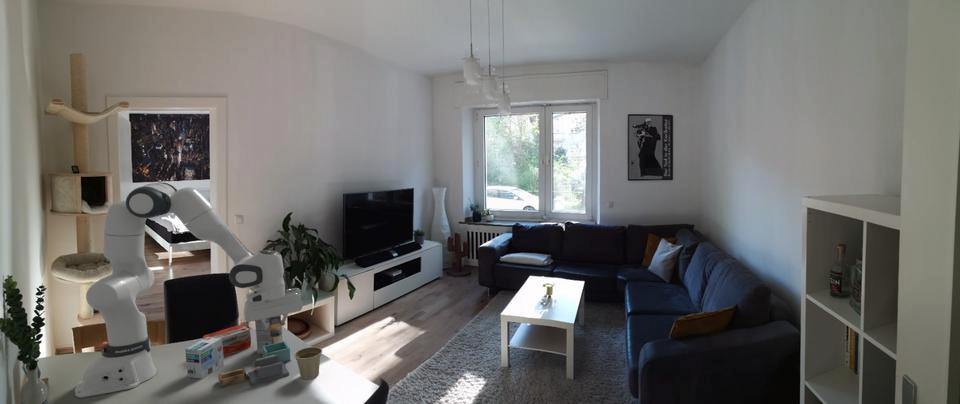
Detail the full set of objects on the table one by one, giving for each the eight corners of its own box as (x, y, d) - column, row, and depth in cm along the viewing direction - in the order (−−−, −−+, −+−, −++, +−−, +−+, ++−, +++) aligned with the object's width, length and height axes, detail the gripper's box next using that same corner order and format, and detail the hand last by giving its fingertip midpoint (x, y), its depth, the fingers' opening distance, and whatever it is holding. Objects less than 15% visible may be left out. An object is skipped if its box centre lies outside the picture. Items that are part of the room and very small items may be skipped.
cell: (269, 334, 174) (267, 315, 173) (280, 331, 177) (278, 312, 176) (271, 337, 171) (269, 318, 170) (282, 335, 173) (281, 316, 172)
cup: (267, 366, 169) (266, 354, 169) (263, 358, 176) (262, 346, 175) (290, 360, 174) (289, 348, 174) (285, 352, 181) (284, 341, 180)
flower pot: (290, 375, 163) (289, 352, 162) (315, 366, 170) (314, 344, 169) (303, 384, 156) (301, 361, 155) (328, 374, 163) (327, 352, 162)
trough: (220, 387, 155) (220, 380, 155) (219, 381, 159) (218, 374, 159) (246, 380, 160) (246, 373, 159) (244, 374, 164) (244, 368, 163)
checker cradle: (252, 385, 156) (251, 370, 156) (248, 374, 164) (247, 360, 163) (289, 375, 163) (288, 360, 163) (283, 365, 170) (282, 351, 170)
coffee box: (268, 343, 189) (265, 306, 188) (283, 343, 189) (280, 306, 187) (257, 353, 180) (254, 315, 178) (272, 353, 180) (270, 315, 178)
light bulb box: (202, 379, 161) (200, 350, 160) (186, 377, 162) (183, 348, 161) (225, 365, 171) (222, 337, 170) (209, 363, 173) (207, 336, 171)
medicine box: (212, 360, 175) (210, 341, 174) (203, 355, 180) (202, 335, 179) (251, 347, 187) (250, 328, 186) (242, 342, 192) (241, 323, 191)
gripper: (298, 284, 180) (301, 318, 182) (241, 295, 169) (244, 330, 170) (303, 288, 175) (305, 322, 177) (244, 299, 164) (247, 336, 165)
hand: (275, 326), depth 174 cm, fingers closed on cell, 4 cm apart
